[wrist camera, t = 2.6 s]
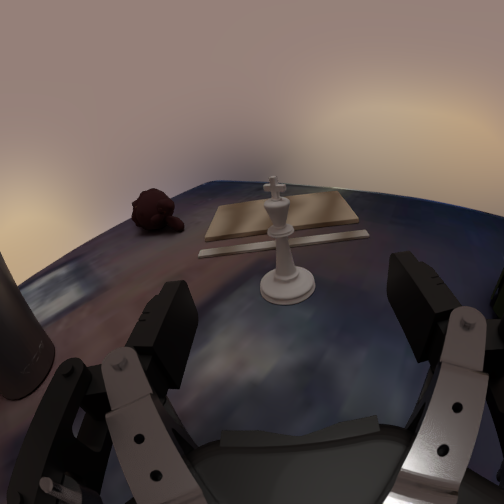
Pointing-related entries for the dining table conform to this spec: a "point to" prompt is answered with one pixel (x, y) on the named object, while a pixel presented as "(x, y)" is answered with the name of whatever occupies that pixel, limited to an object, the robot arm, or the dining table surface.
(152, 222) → the dark brown lumpy figurine
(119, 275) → the dining table surface
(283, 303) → the chess piece
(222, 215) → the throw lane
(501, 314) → the character mug
